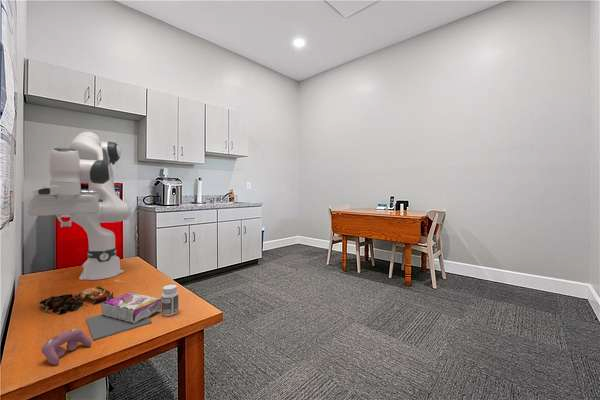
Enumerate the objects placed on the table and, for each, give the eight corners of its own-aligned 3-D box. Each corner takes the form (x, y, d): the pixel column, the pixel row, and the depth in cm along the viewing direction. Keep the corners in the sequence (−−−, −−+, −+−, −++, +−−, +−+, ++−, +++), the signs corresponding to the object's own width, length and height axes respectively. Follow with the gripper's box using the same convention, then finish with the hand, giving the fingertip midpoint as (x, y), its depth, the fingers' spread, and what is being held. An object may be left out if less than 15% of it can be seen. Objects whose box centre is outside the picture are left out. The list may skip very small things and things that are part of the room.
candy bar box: (130, 291, 105) (161, 297, 99) (130, 303, 105) (161, 311, 99) (100, 301, 94) (134, 309, 89) (100, 315, 94) (133, 324, 89)
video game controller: (83, 348, 78) (75, 326, 79) (94, 344, 77) (86, 321, 78) (44, 370, 69) (35, 344, 69) (55, 365, 67) (46, 339, 68)
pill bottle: (173, 308, 102) (173, 283, 102) (181, 312, 99) (181, 286, 98) (158, 313, 98) (158, 287, 97) (165, 318, 94) (165, 290, 94)
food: (52, 319, 93) (52, 309, 93) (34, 307, 102) (34, 298, 102) (121, 298, 112) (121, 290, 111) (100, 290, 121) (100, 282, 121)
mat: (85, 319, 92) (85, 318, 92) (138, 306, 103) (138, 305, 103) (93, 340, 79) (93, 339, 79) (151, 322, 91) (151, 321, 91)
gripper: (98, 190, 110) (98, 223, 110) (27, 189, 96) (28, 227, 96) (100, 190, 106) (101, 225, 106) (27, 190, 91) (28, 229, 92)
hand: (66, 226), depth 101 cm, fingers closed
